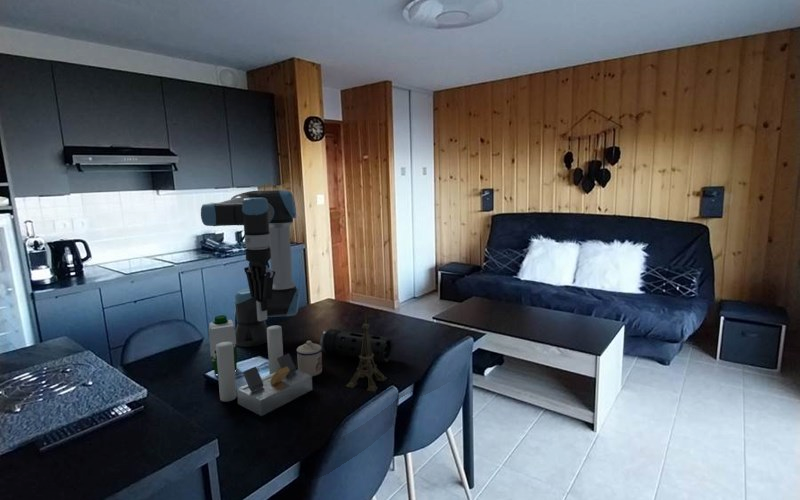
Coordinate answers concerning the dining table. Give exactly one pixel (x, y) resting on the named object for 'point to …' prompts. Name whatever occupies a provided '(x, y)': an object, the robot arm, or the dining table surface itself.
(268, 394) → the block
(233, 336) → the milk carton
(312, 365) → the teacup with lid
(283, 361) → the paddle right
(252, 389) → the paddle left
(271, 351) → the post far
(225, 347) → the post near
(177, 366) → the dining table surface
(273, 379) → the block
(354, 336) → the muzzle brake
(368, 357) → the eiffel tower
